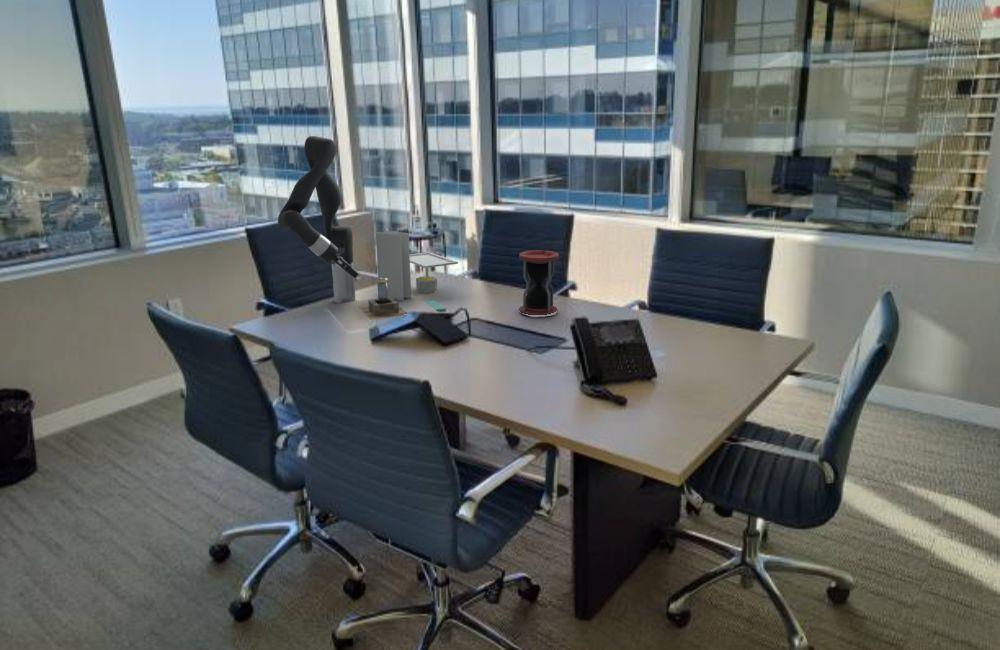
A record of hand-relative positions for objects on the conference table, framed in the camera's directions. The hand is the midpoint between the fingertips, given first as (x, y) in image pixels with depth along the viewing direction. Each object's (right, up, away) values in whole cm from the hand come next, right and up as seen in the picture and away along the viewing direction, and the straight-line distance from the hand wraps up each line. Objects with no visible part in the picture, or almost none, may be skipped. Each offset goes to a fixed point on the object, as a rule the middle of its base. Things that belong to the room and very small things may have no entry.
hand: (354, 273), depth 276 cm
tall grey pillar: (+12, -9, +32) cm, 35 cm away
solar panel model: (+25, -4, +48) cm, 54 cm away
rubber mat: (+27, -13, +18) cm, 35 cm away
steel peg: (+10, -15, +10) cm, 20 cm away
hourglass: (+75, -16, +12) cm, 77 cm away
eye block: (+10, -16, +10) cm, 21 cm away
